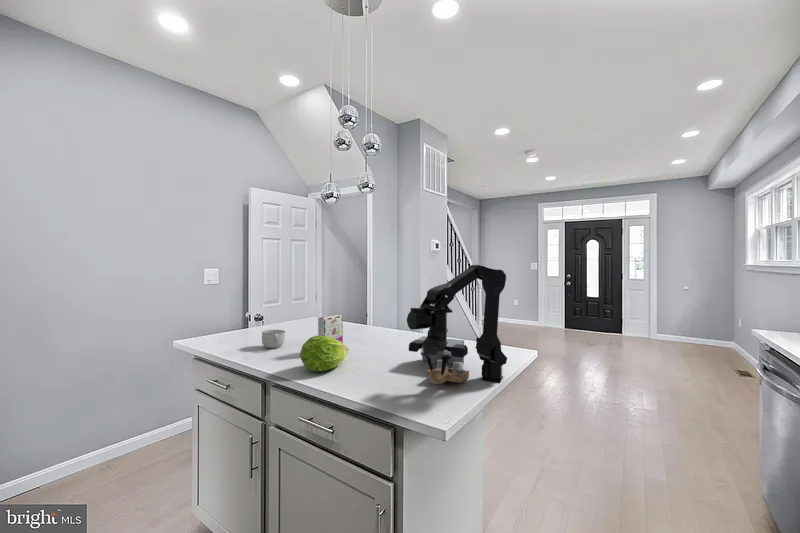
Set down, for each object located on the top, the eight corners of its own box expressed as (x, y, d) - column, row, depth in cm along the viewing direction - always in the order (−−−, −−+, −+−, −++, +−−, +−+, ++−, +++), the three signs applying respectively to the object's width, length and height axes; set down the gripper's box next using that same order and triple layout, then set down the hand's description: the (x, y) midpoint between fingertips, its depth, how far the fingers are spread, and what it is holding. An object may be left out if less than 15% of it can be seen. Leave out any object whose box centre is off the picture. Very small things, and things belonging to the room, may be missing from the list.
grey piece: (463, 364, 148) (464, 340, 148) (455, 373, 137) (455, 347, 136) (423, 359, 156) (423, 336, 155) (411, 367, 144) (411, 342, 144)
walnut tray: (468, 377, 132) (469, 362, 132) (453, 386, 114) (453, 368, 114) (437, 373, 137) (438, 358, 137) (417, 380, 119) (418, 363, 119)
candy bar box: (335, 348, 173) (335, 314, 173) (343, 350, 170) (343, 315, 170) (317, 353, 164) (317, 317, 164) (324, 355, 161) (324, 318, 161)
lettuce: (362, 365, 150) (359, 331, 153) (323, 373, 129) (320, 334, 132) (334, 367, 157) (332, 335, 160) (292, 375, 136) (291, 338, 139)
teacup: (262, 345, 179) (262, 329, 179) (285, 343, 182) (285, 328, 182) (260, 352, 166) (260, 334, 166) (285, 350, 169) (285, 333, 169)
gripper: (401, 328, 115) (401, 377, 115) (458, 334, 107) (458, 386, 107) (415, 323, 125) (415, 367, 125) (468, 327, 117) (468, 375, 117)
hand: (437, 374), depth 118 cm, fingers closed on walnut tray, 3 cm apart
